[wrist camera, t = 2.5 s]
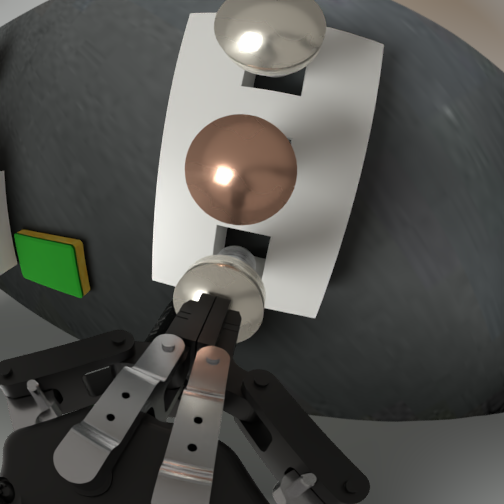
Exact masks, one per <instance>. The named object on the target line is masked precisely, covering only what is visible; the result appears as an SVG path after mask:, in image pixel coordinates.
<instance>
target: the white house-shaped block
mask: <svg viewBox="0 0 504 504" xmlns="http://www.w3.org/2000/svg"><path fill="white" fill-rule="evenodd" d="M17 264H18V263H17V259H16V255H15V250H14V246H13V241H12V235H11V230H10V224H9V217H8V210H7V201H6V191H5V176H4V171H0V275H1V274H3V273H4V272H6V271H7V270H9V269H10V268H12V267H13V266H15V265H17Z"/></svg>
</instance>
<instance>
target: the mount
mask: <svg viewBox="0 0 504 504" xmlns="http://www.w3.org/2000/svg"><path fill="white" fill-rule="evenodd" d="M216 14H217V13H190V17H189V20H188V23H187V27H186V30H185V34H184V37H183V41H182V45H181V48H180V52H179V56H178V60H177V65H176V69H175V73H174V78H173V83H172V87H171V92H170V97H169V103H168V108H167V114H166V120H165V126H164V132H163V139H162V146H161V153H160V161H159V170H158V179H157V189H156V201H155V214H154V231H153V256H152V280H154V281H157V282H161V283H165V284H168V285H172V286H176V285H177V283H178V282H179V280H180V279H181V278H182V276H183V275H184V274H185V272H186V271H187V270H188V268H189V267H190V266H191V265H192V264H193V263H194V262H196V261H197V260H199V259H201V258H203V257H206V256H210V255H218V253H219V252H220V251H221V250H222V249H223V248H224V246H225V240H226V234H227V228H228V227H229V228H234V229H238V230H243V231H248V232H252V233H257V234H262V235H266V236H271V238H270V242H269V247H268V251H267V255H266V259H264V258H259V257H255V256H253V257H254V259H255V262H256V269H255V271H256V273H257V274H258V275H259V277H260V278H261V280H262V282H263V284H264V287H265V292H266V301H265V307H264V308H267V309H272V310H276V311H281V312H286V313H291V314H296V315H301V316H306V317H311V318H316V315H317V312H318V310H319V307H320V304H321V302H322V299H323V296H324V294H325V291H326V288H327V285H328V282H329V279H330V276H331V274H332V271H333V268H334V265H335V262H336V259H337V255H338V252H339V249H340V246H341V243H342V240H343V236H344V233H345V230H346V226H347V223H348V220H349V216H350V213H351V209H352V205H353V202H354V198H355V194H356V191H357V187H358V183H359V179H360V175H361V171H362V167H363V162H364V158H365V154H366V149H367V145H368V140H369V135H370V130H371V126H372V120H373V115H374V110H375V104H376V98H377V92H378V86H379V79H380V72H381V65H382V57H383V48H384V44H381V43H378V42H375V41H373V40H370V39H367V38H364V37H361V36H358V35H355V34H351V33H348V32H345V31H341V30H337V29H334V28H330V27H326V33H325V37H324V40H323V43H322V46H321V49H320V51H319V53H318V55H317V56H316V58H315V59H314V60H313V61H312V62H311V63H310V64H309V65H307V66H306V70H305V75H304V81H303V86H302V91H301V96H297V95H292V94H287V93H282V92H276V91H271V90H265V89H258V88H253V86H254V81H255V77H256V74H254V73H251V72H248V71H246V70H244V69H242V68H240V67H239V66H237V65H236V64H235V63H233V61H232V60H231V59H230V58H229V57H228V56H227V54H226V53H225V52H224V50H223V49H222V47H221V46H220V45H219V43H218V41H217V39H216V36H215V33H214V21H215V17H216ZM234 114H246V115H252V116H257V117H260V118H262V119H265V120H267V121H268V122H270V123H272V124H273V125H275V126H276V127H277V128H278V129H279V130H280V131H281V132H282V133H283V134H284V135H285V136H286V137H287V139H288V140H291V146H292V148H293V150H294V153H295V157H296V161H297V179H296V184H295V187H294V190H293V192H292V195H291V197H290V198H289V200H288V201H287V203H286V204H285V205H284V207H283V208H282V209H281V210H280V211H278V212H277V213H276V214H275V215H273V216H272V217H270V218H268V219H267V220H265V221H262V222H259V223H256V224H252V225H232V224H227V223H224V222H221V221H218V220H216V219H214V218H213V217H211V216H209V215H208V214H207V213H205V212H204V211H203V210H202V209H201V208H200V207H199V206H198V205H197V203H196V202H195V201H194V199H193V198H192V196H191V194H190V192H189V190H188V187H187V183H186V179H185V160H186V155H187V152H188V149H189V147H190V145H191V143H192V141H193V140H194V138H195V137H196V135H197V134H198V133H199V132H200V131H201V130H202V129H203V128H204V127H205V126H207V125H208V124H210V123H211V122H213V121H215V120H217V119H219V118H222V117H225V116H229V115H234Z"/></svg>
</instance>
